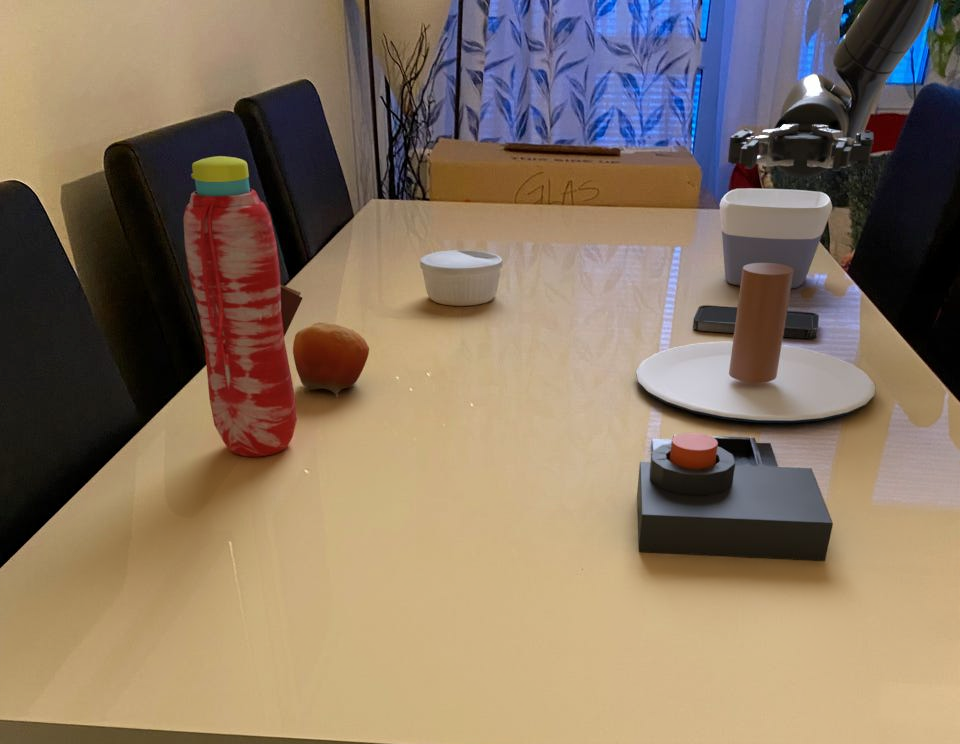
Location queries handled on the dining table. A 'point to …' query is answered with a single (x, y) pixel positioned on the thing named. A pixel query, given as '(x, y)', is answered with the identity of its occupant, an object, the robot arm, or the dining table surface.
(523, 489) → the dining table surface
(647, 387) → the plate
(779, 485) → the red push button box
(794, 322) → the phone
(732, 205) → the white and lavender bin
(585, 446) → the dining table surface
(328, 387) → the fruit
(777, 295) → the tall brown tube
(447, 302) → the ramekin
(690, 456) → the button
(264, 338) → the water bottle
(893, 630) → the dining table surface
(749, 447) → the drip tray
